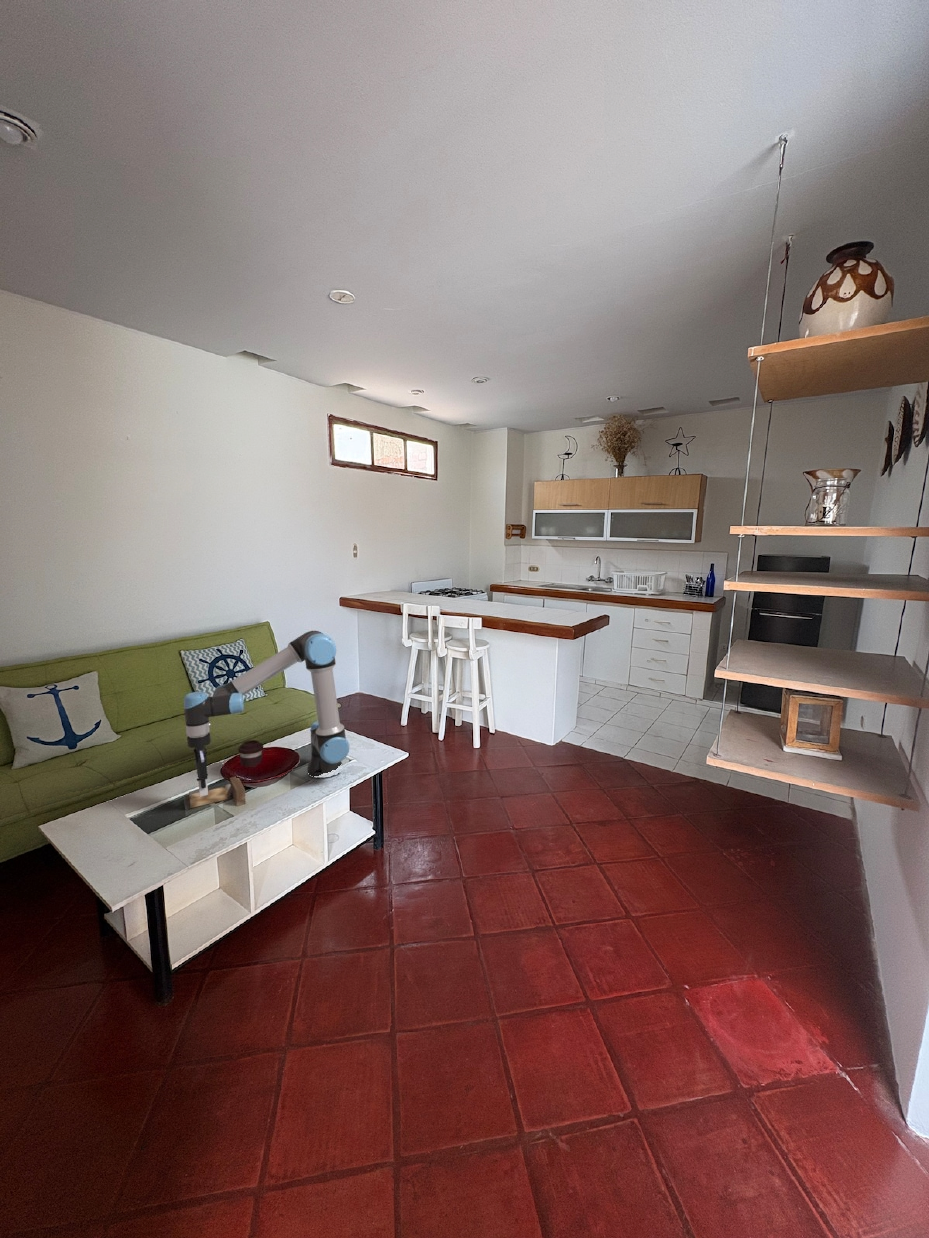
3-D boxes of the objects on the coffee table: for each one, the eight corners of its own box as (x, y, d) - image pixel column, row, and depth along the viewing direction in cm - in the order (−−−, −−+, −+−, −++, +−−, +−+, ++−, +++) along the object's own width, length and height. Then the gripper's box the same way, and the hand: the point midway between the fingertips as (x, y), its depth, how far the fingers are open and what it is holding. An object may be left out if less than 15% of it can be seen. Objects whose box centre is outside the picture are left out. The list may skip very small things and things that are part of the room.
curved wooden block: (238, 790, 200) (237, 775, 200) (245, 803, 189) (244, 789, 188) (230, 791, 199) (229, 777, 198) (237, 806, 187) (236, 791, 186)
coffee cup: (234, 777, 211) (233, 744, 210) (253, 769, 220) (252, 737, 218) (250, 782, 207) (248, 748, 205) (269, 774, 216) (268, 741, 214)
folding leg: (230, 795, 195) (230, 782, 195) (232, 798, 193) (231, 785, 192) (184, 806, 186) (183, 793, 186) (185, 809, 184) (184, 796, 183)
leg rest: (206, 797, 194) (206, 787, 193) (208, 800, 191) (207, 790, 191) (189, 801, 190) (189, 791, 190) (190, 804, 188) (190, 794, 187)
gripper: (212, 737, 177) (217, 798, 180) (207, 727, 188) (212, 785, 191) (189, 742, 173) (194, 804, 176) (184, 731, 183) (190, 791, 186)
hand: (203, 794), depth 183 cm, fingers closed
